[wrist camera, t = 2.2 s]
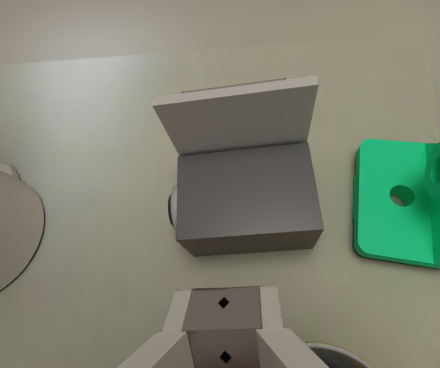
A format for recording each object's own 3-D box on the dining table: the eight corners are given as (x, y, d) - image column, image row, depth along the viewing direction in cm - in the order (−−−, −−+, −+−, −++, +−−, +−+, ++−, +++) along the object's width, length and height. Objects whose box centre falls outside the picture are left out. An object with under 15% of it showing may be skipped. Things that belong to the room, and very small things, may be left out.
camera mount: (353, 150, 34) (385, 87, 25) (430, 157, 33) (493, 92, 23) (350, 257, 30) (387, 228, 20) (438, 271, 28) (521, 246, 19)
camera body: (181, 257, 32) (159, 241, 26) (182, 187, 35) (163, 157, 29) (312, 248, 30) (323, 229, 24) (300, 175, 34) (308, 142, 27)
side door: (191, 181, 35) (149, 107, 23) (191, 169, 35) (151, 90, 23) (303, 170, 33) (321, 85, 21) (300, 157, 34) (317, 67, 22)
